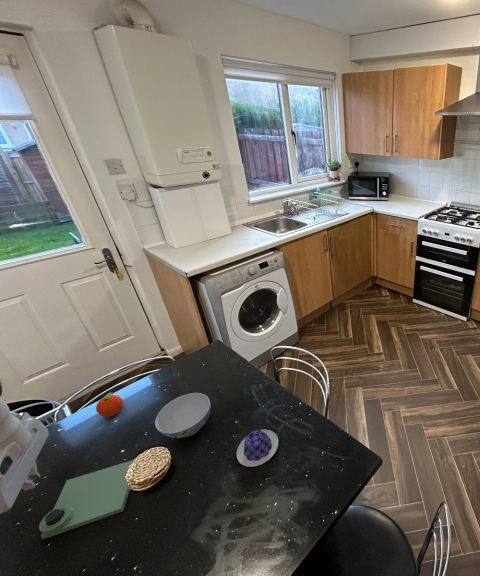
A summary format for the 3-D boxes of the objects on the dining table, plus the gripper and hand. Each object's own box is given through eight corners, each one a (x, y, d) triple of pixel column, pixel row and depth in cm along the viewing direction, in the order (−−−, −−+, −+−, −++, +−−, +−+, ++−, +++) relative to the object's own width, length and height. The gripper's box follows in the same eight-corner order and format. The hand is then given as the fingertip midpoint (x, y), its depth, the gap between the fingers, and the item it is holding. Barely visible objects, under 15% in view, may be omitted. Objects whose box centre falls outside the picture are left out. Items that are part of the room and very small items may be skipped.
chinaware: (214, 439, 97) (207, 423, 93) (159, 456, 92) (149, 440, 88) (217, 403, 109) (211, 387, 105) (168, 416, 104) (160, 400, 101)
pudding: (235, 440, 97) (231, 430, 94) (274, 425, 101) (272, 414, 99) (239, 475, 87) (234, 464, 85) (282, 456, 92) (279, 446, 90)
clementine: (107, 405, 108) (98, 390, 105) (130, 399, 111) (122, 385, 107) (98, 423, 102) (87, 409, 98) (123, 417, 104) (114, 403, 101)
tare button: (45, 527, 74) (42, 523, 73) (51, 514, 76) (48, 511, 76) (60, 522, 75) (57, 518, 74) (65, 510, 77) (62, 506, 77)
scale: (40, 541, 74) (33, 535, 72) (67, 483, 85) (62, 477, 84) (123, 512, 79) (118, 506, 78) (137, 461, 91) (133, 455, 89)
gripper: (3, 413, 71) (35, 450, 78) (-58, 499, 55) (-11, 537, 62) (40, 403, 74) (67, 440, 80) (-9, 483, 58) (31, 521, 64)
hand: (33, 483), depth 71 cm, fingers closed
